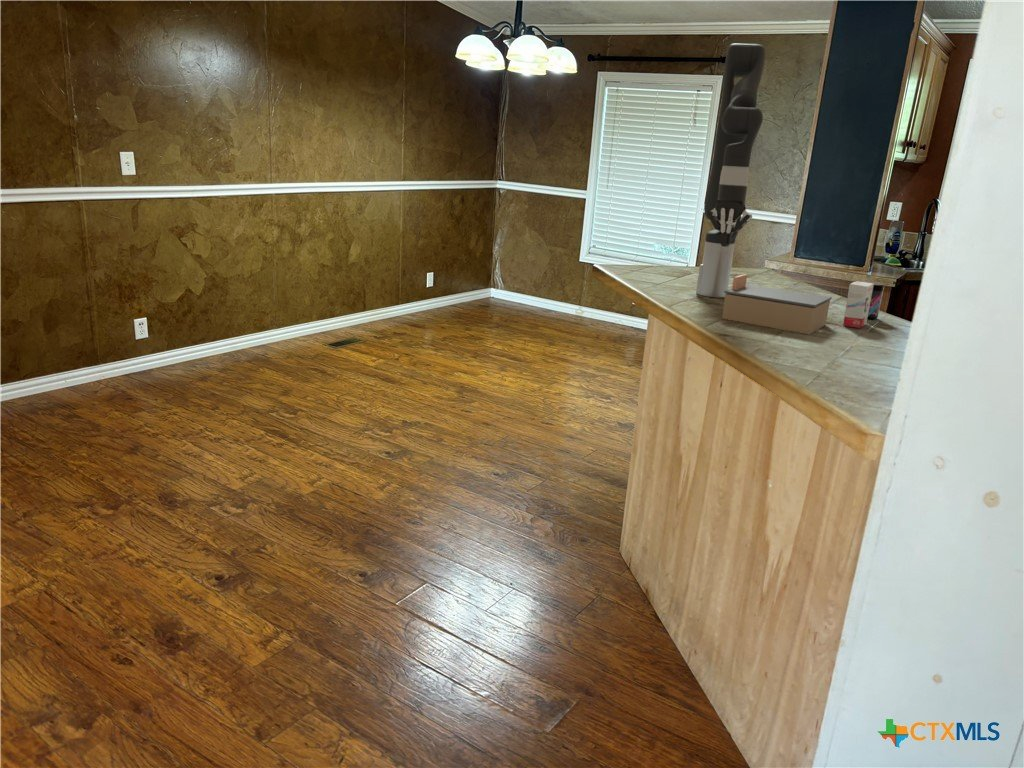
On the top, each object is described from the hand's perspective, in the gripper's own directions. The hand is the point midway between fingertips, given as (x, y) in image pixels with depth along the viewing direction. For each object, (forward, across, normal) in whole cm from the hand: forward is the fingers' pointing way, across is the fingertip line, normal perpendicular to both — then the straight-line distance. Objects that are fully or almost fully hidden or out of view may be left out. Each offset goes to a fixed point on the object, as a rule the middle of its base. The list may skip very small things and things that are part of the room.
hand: (725, 246), depth 209 cm
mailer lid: (+12, +17, 0) cm, 21 cm away
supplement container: (+19, +35, +29) cm, 49 cm away
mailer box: (+19, +17, 0) cm, 25 cm away
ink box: (+20, +35, +15) cm, 43 cm away
